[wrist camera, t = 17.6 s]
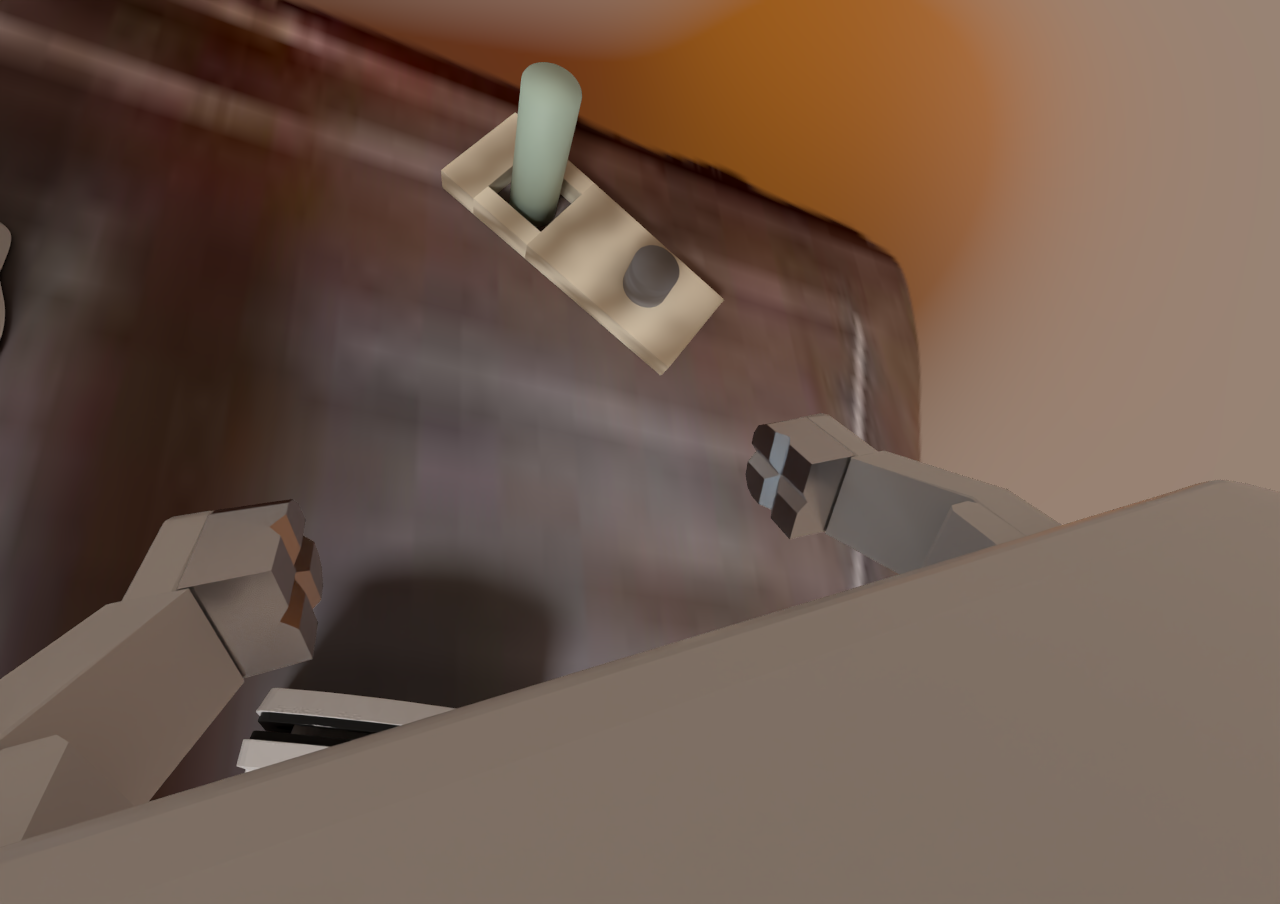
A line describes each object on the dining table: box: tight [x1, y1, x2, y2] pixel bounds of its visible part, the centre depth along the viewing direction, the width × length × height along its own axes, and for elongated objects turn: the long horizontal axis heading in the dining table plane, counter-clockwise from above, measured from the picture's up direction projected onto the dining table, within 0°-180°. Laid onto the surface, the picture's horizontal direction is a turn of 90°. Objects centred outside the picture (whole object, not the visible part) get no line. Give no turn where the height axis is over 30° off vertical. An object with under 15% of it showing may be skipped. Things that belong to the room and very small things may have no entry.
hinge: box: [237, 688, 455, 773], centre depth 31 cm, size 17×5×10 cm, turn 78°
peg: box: [509, 62, 582, 227], centre depth 40 cm, size 4×4×12 cm
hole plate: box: [441, 113, 724, 375], centre depth 44 cm, size 24×9×5 cm, turn 53°
